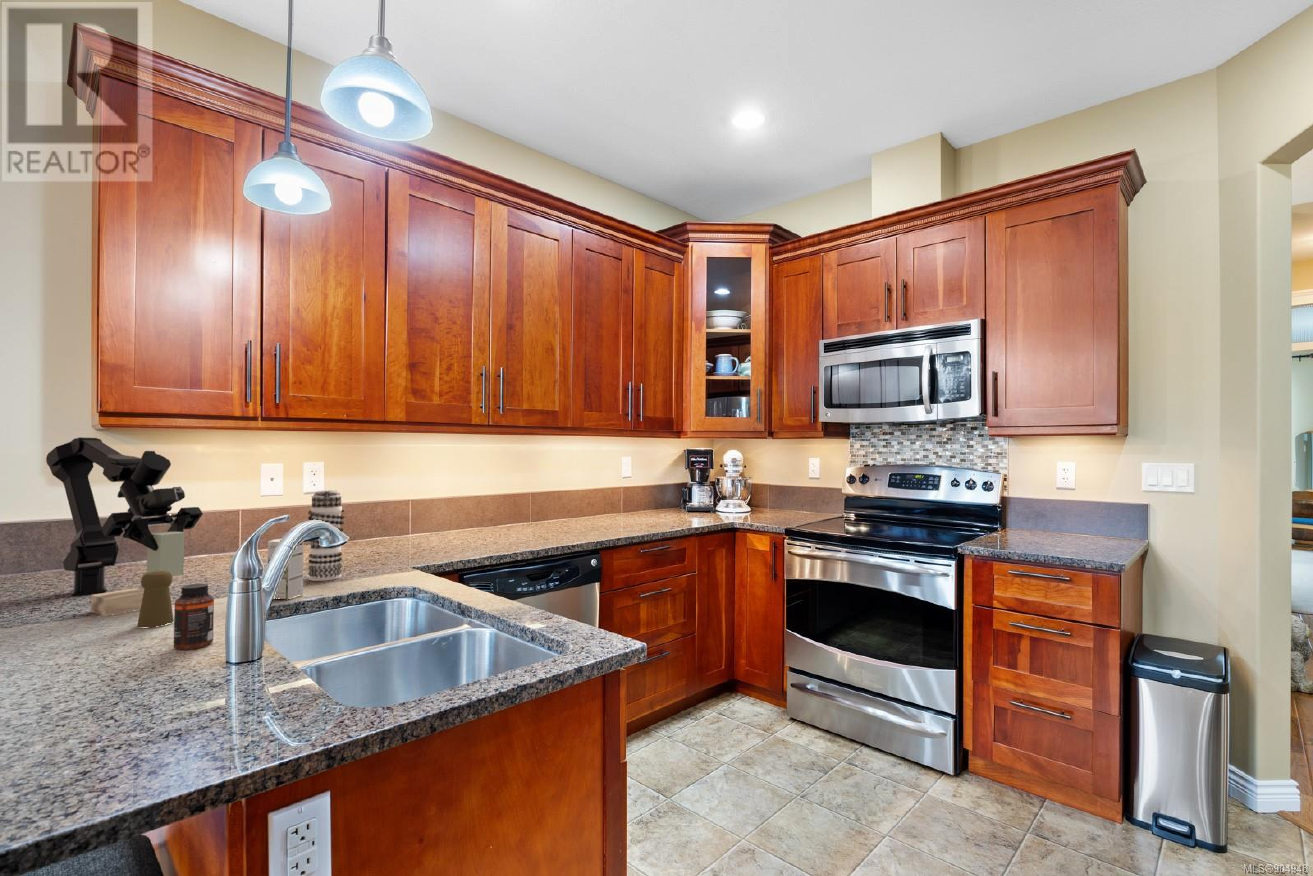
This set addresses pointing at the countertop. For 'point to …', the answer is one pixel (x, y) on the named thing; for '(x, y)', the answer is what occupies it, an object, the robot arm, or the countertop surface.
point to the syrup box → (289, 572)
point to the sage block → (167, 553)
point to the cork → (156, 599)
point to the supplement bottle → (193, 618)
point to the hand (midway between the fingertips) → (169, 547)
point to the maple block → (116, 601)
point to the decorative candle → (322, 560)
